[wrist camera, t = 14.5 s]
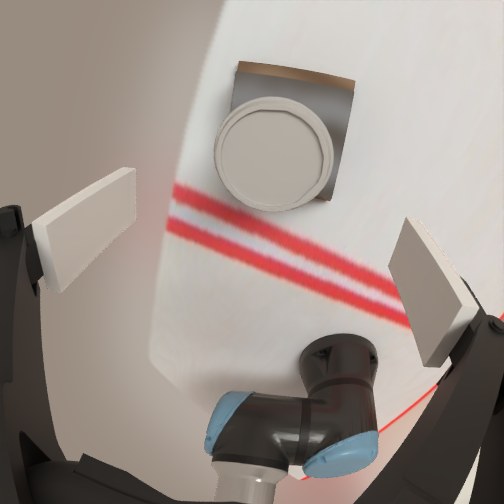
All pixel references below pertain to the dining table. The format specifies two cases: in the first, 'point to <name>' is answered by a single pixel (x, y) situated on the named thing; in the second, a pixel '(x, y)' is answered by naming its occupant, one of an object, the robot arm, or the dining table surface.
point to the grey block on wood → (301, 100)
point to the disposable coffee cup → (273, 154)
